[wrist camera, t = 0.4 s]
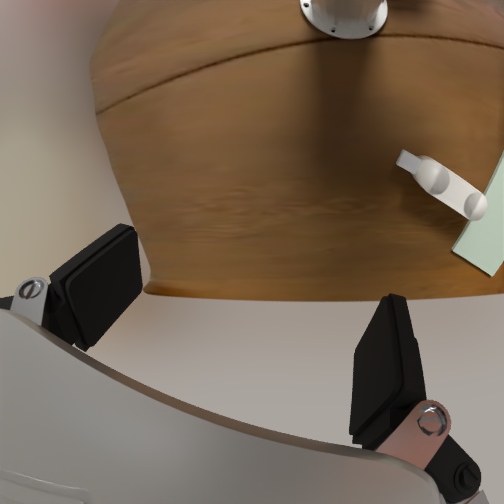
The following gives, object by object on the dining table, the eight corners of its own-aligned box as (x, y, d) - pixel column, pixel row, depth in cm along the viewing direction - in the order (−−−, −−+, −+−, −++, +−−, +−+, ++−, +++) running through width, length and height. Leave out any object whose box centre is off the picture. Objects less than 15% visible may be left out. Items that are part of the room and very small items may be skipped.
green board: (503, 149, 29) (506, 150, 28) (540, 187, 28) (543, 188, 28) (451, 248, 40) (452, 250, 39) (491, 274, 39) (492, 276, 39)
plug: (401, 140, 35) (411, 146, 30) (476, 188, 34) (492, 201, 29) (389, 165, 38) (397, 175, 32) (464, 211, 36) (478, 226, 31)
